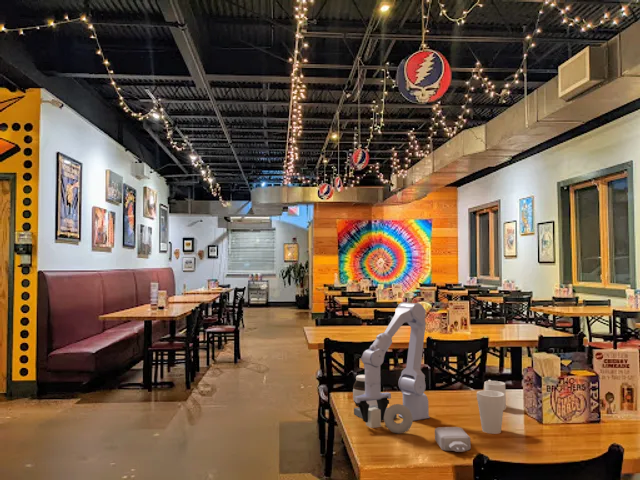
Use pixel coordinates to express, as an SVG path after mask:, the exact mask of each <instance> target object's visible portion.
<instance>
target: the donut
mask: <svg viewBox="0 0 640 480" xmlns="http://www.w3.org/2000/svg"><path fill="white" fill-rule="evenodd" d="M387 408H388V409H387V410H386V412H385V414H384V420H383V421H384V424H385V426H386V428H387V429H388V430H389V431H390V432H391V433H393V434H398V435H399V434H404V433H406V432H407V431H409V430H410V429H411V427H412V425H413V418H412V414H411V412H410V410H409V409H408V408H407V407H406V406H404V405H403V404H401V403H396V404H395V403H394V404H392V405H390V406H388V407H387ZM396 414H397V415H402V417H403V418H402V417H401V418H402V421H401V422H396V421H395V419H393V418H394V416H395V415H396Z"/></svg>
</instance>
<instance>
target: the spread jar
mask: <svg viewBox="0 0 640 480" xmlns="http://www.w3.org/2000/svg"><path fill="white" fill-rule="evenodd" d="M355 379H356V380H355V382H354V383H353V386H352V388H353V389H352V394H353V395H352V399H353V402H354V403H355V404H356V405H357V406H358V404H357V403H356V402H355V396H360V395H363V394H365V374H358V375H356V377H355ZM366 402H367V404H369V406H372V405H378V404H377V400H372V401H366Z"/></svg>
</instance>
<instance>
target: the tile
mask: <svg viewBox="0 0 640 480" xmlns="http://www.w3.org/2000/svg"><path fill="white" fill-rule="evenodd" d="M373 407H375V408H377V409H378V404H377V405H372V406H369V408H373ZM388 408H389V407H387V408H386V410H387V409H388ZM386 410H385V412H386ZM353 415H354V416H356V417H358V418H360V419H362V420H363V417H362V414H361V411H360V408H359V406H358V407H354V408H353ZM397 416H398V414H396V415H395V416H394V418H393V419H394V420H395V419H397ZM382 421H384V418H383V420H381V422H382Z"/></svg>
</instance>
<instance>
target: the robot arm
mask: <svg viewBox="0 0 640 480" xmlns="http://www.w3.org/2000/svg"><path fill="white" fill-rule="evenodd" d="M394 311H395V313H394V315H393V316H392V318H391V321H390V322H389V323H388V325H387V327H386V329H385V331H384V332H382V333H379V334H377V335H376V336H375V337H376V338H375V340H374V341H373V343H372V344H371V345H370V346H369V348H368V349H365V350H364V351H363V353H362V356H361V357H360V359H361V362H362V363H363V368H364V375H365V394H363V395H360V396H355V402H356V403H357V404H358V405H357V404H356V403H355V402H354V403H355V404H356V405H357V406H358V407H359V408H360V411H361V414H362V417H363V419H362V422H364V423H366V422H368V409H369V404H367V402H366V401H372V400H377V405H378V409H380V410H381V420H383V418H384V414H385V410H386V408H388V407H389V406H388V405H389V404H390V400H391V399H392V393H391V392H389V391H388V392H387V391H386V392H381V390H382V388H381V366H382V364H383V363H384V362H385V361H384V360H385V355H386V352H388V349H389V348H390V347H391V346H392V344H393V337H394V336H395V334H396V333H397V332H398V330H400V328H401V327H402V326H403V324H404V323H407V324H408V326H410V332H409V333H410V334H409V341H408V350H407V359H406V367H405V368H403V370H402V371H401V373H400V376H399V379H398V387H399V390H400V391H401V394H402V405H404V406H406V407H407V408H408V409H409V410H410V412H411V414H412V418H413V421H419V420H425V419H430V417H431V416H429V399H428V396H427V394H425V393H424V392H425V391H426V387H427V386H426V385H427V384H426V381H425V380H426V379H425V378H426V375H425V374H424V373H423V371H422V370H421V369H422V368H421V367H422V361H423V359H422V358H423V352H424V351H423V350H424V342H425V334H426V333H425V332H426V326H427V325H426V312H427V311H426V309H425V307H424V306H423V305H422V304H421V303H419V302H417V303H413V302H400V303H399V304H397V307H396V308H395V310H394ZM397 416H398V417H400V418H402V419H403V417H402V415H400V414H397ZM383 421H384V420H383ZM413 421H412V422H413Z"/></svg>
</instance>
